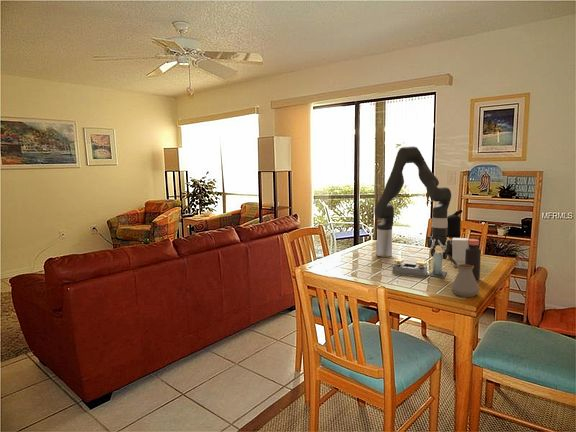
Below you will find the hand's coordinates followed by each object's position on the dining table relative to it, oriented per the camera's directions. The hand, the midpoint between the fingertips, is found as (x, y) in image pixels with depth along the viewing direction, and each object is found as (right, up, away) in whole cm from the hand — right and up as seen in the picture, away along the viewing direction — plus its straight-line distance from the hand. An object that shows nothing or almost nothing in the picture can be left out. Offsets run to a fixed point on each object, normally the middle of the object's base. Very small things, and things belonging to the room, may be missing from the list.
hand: (438, 257), depth 195 cm
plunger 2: (-8, -7, +2) cm, 11 cm away
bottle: (+14, -10, -8) cm, 19 cm away
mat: (0, -9, +1) cm, 9 cm away
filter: (+20, -4, +33) cm, 39 cm away
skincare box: (+19, -7, +17) cm, 26 cm away
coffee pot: (0, -13, -24) cm, 27 cm away
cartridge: (0, -9, +1) cm, 9 cm away
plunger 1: (-19, -7, +8) cm, 22 cm away
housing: (-13, -9, +6) cm, 17 cm away
